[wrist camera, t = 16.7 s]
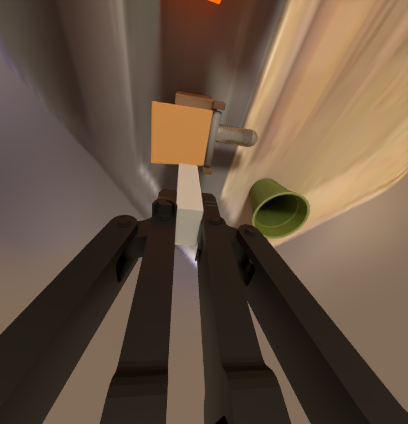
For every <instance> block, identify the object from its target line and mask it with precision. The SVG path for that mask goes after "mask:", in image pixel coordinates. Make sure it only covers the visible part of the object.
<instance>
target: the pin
mask: <svg viewBox="0 0 408 424" xmlns="http://www.w3.org/2000/svg"><path fill="white" fill-rule="evenodd" d="M257 139H258V136H257V133H256V132H255V131H253V130H251V129H245V128H239V127H233V126H227V125H221V124H219V127H218V132H217V137H216V142H219V143H225V144H232V145H238V146H245V147H251V146H253V145H255V144H256V142H257Z"/></svg>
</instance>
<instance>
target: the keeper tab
mask: <svg viewBox="0 0 408 424" xmlns="http://www.w3.org/2000/svg"><path fill="white" fill-rule="evenodd" d="M220 117H221V112H220V111H215V110H213V111H212V110H207V109H201V108H194V107H188V106H181V105H175V104H168V103H162V102H155V101H152V112H151V163H162V164H179V163H181V164H189V165H202V166H204V165H205V166H211V163H212V158H213V152H214V147H215V142H216V137H217V132H218V127H219V122H220ZM211 119H212V120H211ZM210 125H211V126H210ZM207 142H208V143H207ZM206 148H207V149H206ZM205 154H206V155H205Z"/></svg>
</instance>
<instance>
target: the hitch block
mask: <svg viewBox="0 0 408 424" xmlns="http://www.w3.org/2000/svg"><path fill="white" fill-rule="evenodd" d="M175 105H181V106H188V107H194V108H201V109H207V110H212V111H213V110H215V111H217V109H221V110H225V105H226V103H224V102H220V101H215V100H214V99H212V98H211V97H209V96H203V95H198V94H193V93H188V92H183V91H177V93H176V96H175ZM211 120H212V119H211ZM210 126H211V125H210ZM207 143H208V142H207ZM206 149H207V148H206ZM205 155H206V154H205ZM174 165H179V164H174ZM197 167H198V168H201V171H202V174H210V175H211V174H212V167H211V166H205V165H204V166H202V165H197Z"/></svg>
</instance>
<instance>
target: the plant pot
mask: <svg viewBox="0 0 408 424" xmlns="http://www.w3.org/2000/svg"><path fill="white" fill-rule="evenodd" d="M250 199H251V204H252V209H253V217H252V226H254V227H256V228H257V229H258V230H259V231H260V232H261V233H262V234H263V235H264V237H266V238H281V237H285V236H288V235H290V234H292V233H294V232H295V231H297V230H298V229H299V228H300V227H301V226H302V225H303V224H304V223H305V222H306V220H307V218H308V216H309V213H310V205H309V202H308V200H307V199H306V198H305V197H304V196H302V195H301V194H298V193H295V192H291V191H289V190H287V189H286V188H284V187H283V186H281V185H280V184H278V183H277V182H276V181H274V180H272V179H261V180H259V181H257V182H256V183H255V184H254V185H253V186H252V188H251V190H250Z"/></svg>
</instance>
